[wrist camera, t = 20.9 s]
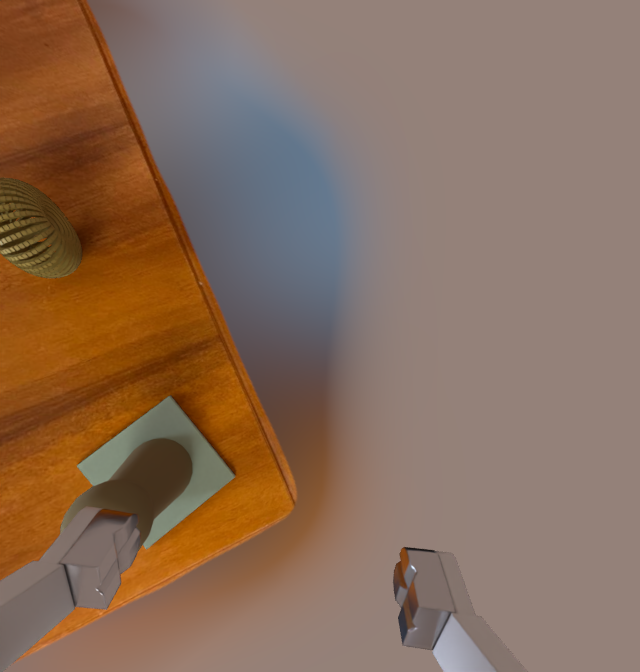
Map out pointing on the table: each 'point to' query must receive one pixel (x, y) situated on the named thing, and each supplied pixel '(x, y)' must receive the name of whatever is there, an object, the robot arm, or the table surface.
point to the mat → (173, 426)
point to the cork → (141, 484)
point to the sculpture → (36, 232)
